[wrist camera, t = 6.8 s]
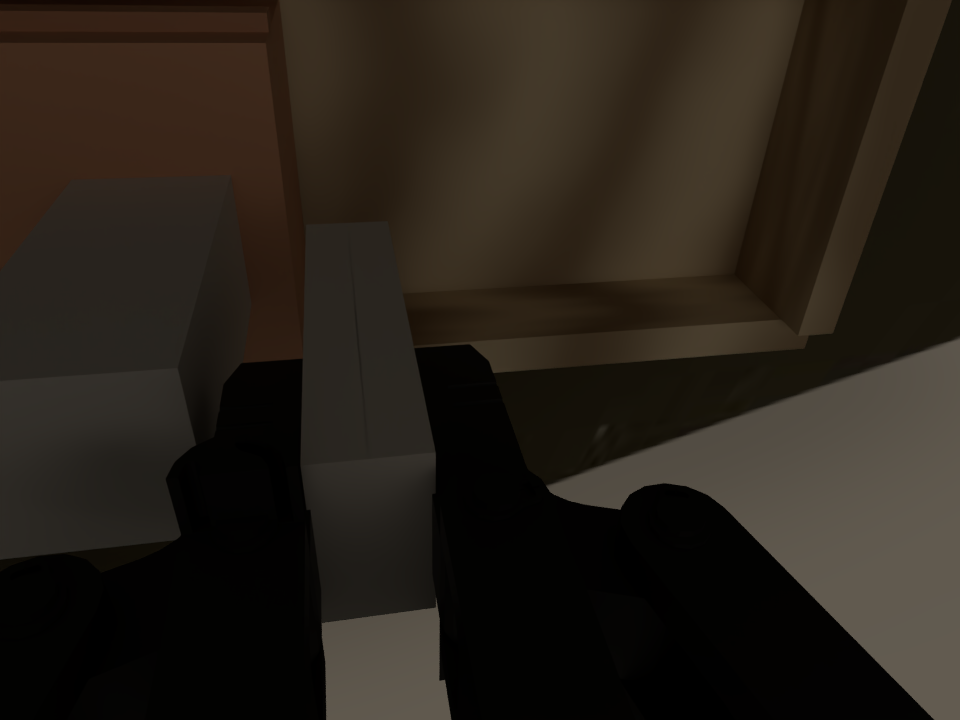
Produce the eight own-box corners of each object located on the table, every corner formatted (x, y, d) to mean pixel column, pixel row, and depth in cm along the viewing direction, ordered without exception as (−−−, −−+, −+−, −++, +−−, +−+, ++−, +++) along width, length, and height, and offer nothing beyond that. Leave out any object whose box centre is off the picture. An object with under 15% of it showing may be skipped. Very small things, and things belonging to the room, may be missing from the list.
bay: (-253, 354, 22) (-384, 465, 18) (-556, -126, 15) (-875, -123, 11) (746, 291, 27) (821, 364, 23) (846, -79, 21) (975, -66, 17)
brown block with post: (-1, 305, 22) (-305, 728, 11) (-127, -26, 17) (-891, 161, 6) (310, 287, 23) (305, 644, 12) (277, -20, 18) (224, 138, 8)
